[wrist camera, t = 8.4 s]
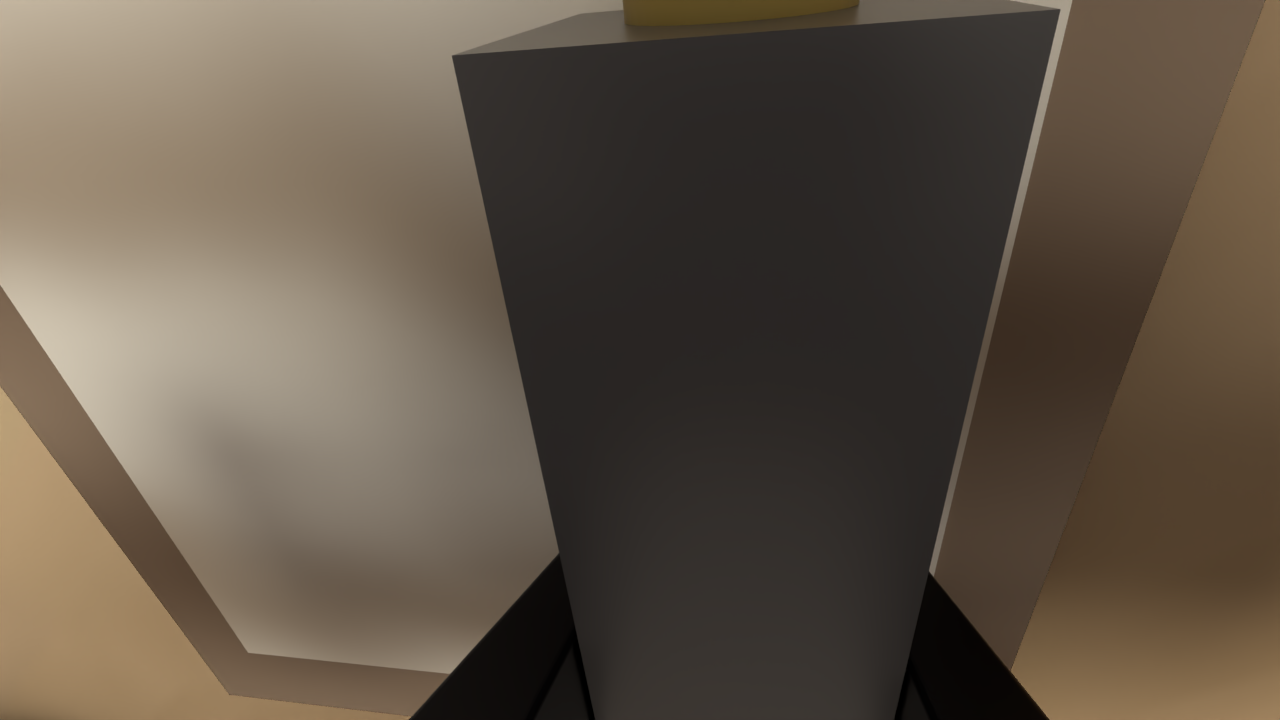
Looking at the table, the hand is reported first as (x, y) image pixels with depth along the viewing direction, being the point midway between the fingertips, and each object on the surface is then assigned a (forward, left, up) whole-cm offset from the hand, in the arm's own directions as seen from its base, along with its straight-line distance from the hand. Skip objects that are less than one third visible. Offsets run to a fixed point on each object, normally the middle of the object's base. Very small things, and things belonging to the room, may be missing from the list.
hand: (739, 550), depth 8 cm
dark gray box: (0, 0, -1) cm, 1 cm away
